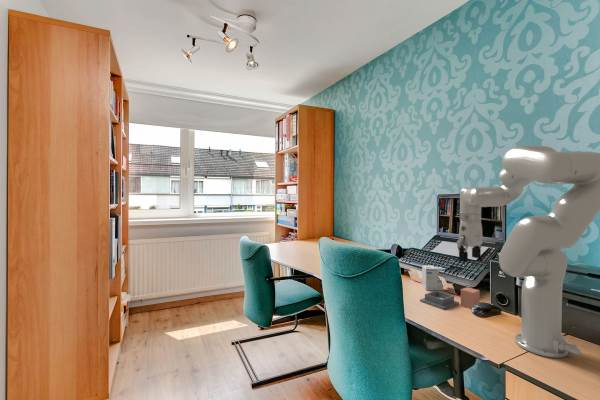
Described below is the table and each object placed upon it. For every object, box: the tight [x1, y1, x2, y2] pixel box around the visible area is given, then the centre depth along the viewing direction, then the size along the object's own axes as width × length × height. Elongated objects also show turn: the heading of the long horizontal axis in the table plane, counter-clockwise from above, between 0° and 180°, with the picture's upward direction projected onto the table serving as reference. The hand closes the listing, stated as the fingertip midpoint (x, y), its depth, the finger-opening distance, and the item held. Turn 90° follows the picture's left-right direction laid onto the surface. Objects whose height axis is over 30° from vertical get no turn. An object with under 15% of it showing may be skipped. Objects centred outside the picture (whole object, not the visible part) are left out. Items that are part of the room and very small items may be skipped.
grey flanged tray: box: [419, 290, 460, 311], centre depth 127 cm, size 11×11×3 cm
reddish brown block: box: [460, 286, 481, 310], centre depth 122 cm, size 5×5×7 cm
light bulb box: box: [421, 264, 445, 291], centre depth 145 cm, size 11×7×11 cm, turn 84°
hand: (469, 259), depth 122 cm, fingers open, 9 cm apart
